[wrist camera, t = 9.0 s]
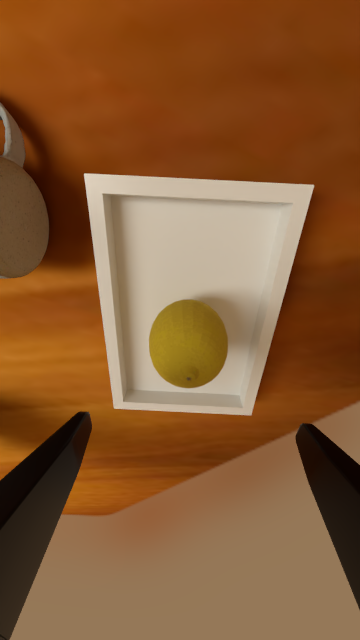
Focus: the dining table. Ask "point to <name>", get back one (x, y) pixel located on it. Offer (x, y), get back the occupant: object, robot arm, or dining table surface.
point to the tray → (191, 277)
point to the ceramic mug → (19, 208)
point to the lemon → (188, 344)
